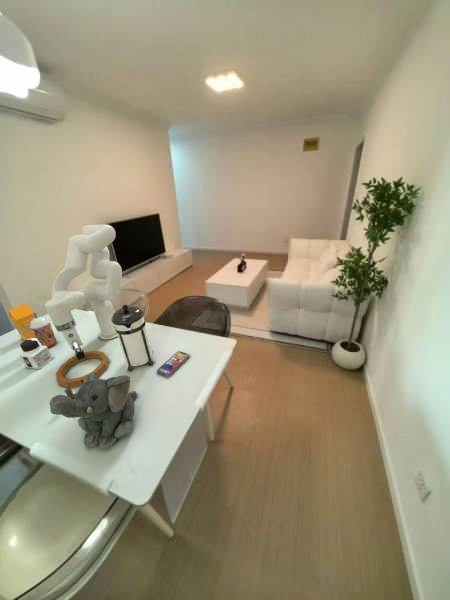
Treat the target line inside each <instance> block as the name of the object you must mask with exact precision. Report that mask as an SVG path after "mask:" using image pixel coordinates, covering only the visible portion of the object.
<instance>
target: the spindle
mask: <svg viewBox="0 0 450 600" xmlns="http://www.w3.org/2000/svg"><path fill="white" fill-rule="evenodd" d="M64 393H65V396H68V397H70V398H71V399H74V397H75V395H76V393H77V392H75V393H74V392H73V390H72V388H68V387H66V388H65V389H64Z"/></svg>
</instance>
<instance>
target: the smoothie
mask: <svg viewBox="0 0 450 600" xmlns="http://www.w3.org/2000/svg"><path fill="white" fill-rule="evenodd" d="M34 315H35V317H36V318H34V319H33V320H32V321H31V323H30V328H31V330H32V331H33V333H34V334H35V336H36V337H37V338H36V339H38V341H39V343H40V345H41V346H47V348H48V349H49V348H52V347H54V346H56V344H57V341H58V340H57V336H56V335H55V332H54V329H53V327H52V325H51V321H50V320H49V319H48V318H46V317H43V316H38V315H37V313H36V312H34Z"/></svg>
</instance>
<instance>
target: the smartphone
mask: <svg viewBox="0 0 450 600" xmlns="http://www.w3.org/2000/svg"><path fill="white" fill-rule="evenodd" d="M189 358H190V354H188V353H186V352H183V351H181V350H180V351H176V352H175V353H174V354H172V356H171V357H170V358H169V359H167V360H166V361H165V362H164V363H163V364H162V365H161V366H160V367H158V368H157V373H158V374H161V375H163V376H165V377H171V376H172V375H173V374H174V373H175V372H177V370H178V369H179V368H180V367H181V366H182V365H183V364H184V363H185V362H186V361H187V360H188V359H189Z"/></svg>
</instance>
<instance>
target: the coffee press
mask: <svg viewBox="0 0 450 600" xmlns="http://www.w3.org/2000/svg"><path fill="white" fill-rule="evenodd" d="M114 312H115V313H114V314H113V317H112V319H111V320H112V323H113V324H114V328H115V331H116V333H117V335H118V336H117V338H118V341H119V344H120V348H121V350H122V354H123V357H124V360H125V362H126V364H127V371H129V372H132V371H133V368H134V367H140V366H143V365H145V364H149V366H152V365H153V364H154V363H155V362H154V360H153V359H152V357H153V349H152V346H151V345H152V344H151V341H150V339H149V338H150V337H149V333H148V330H147V325H146V320H145V317H144V315H145V313H144V310H142V309H141V308H140V307H138V306H133V305H131V306H130V305H129V306H128V304H123V305H122V307H121V308H119V309H117V310H116V311H114Z"/></svg>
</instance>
